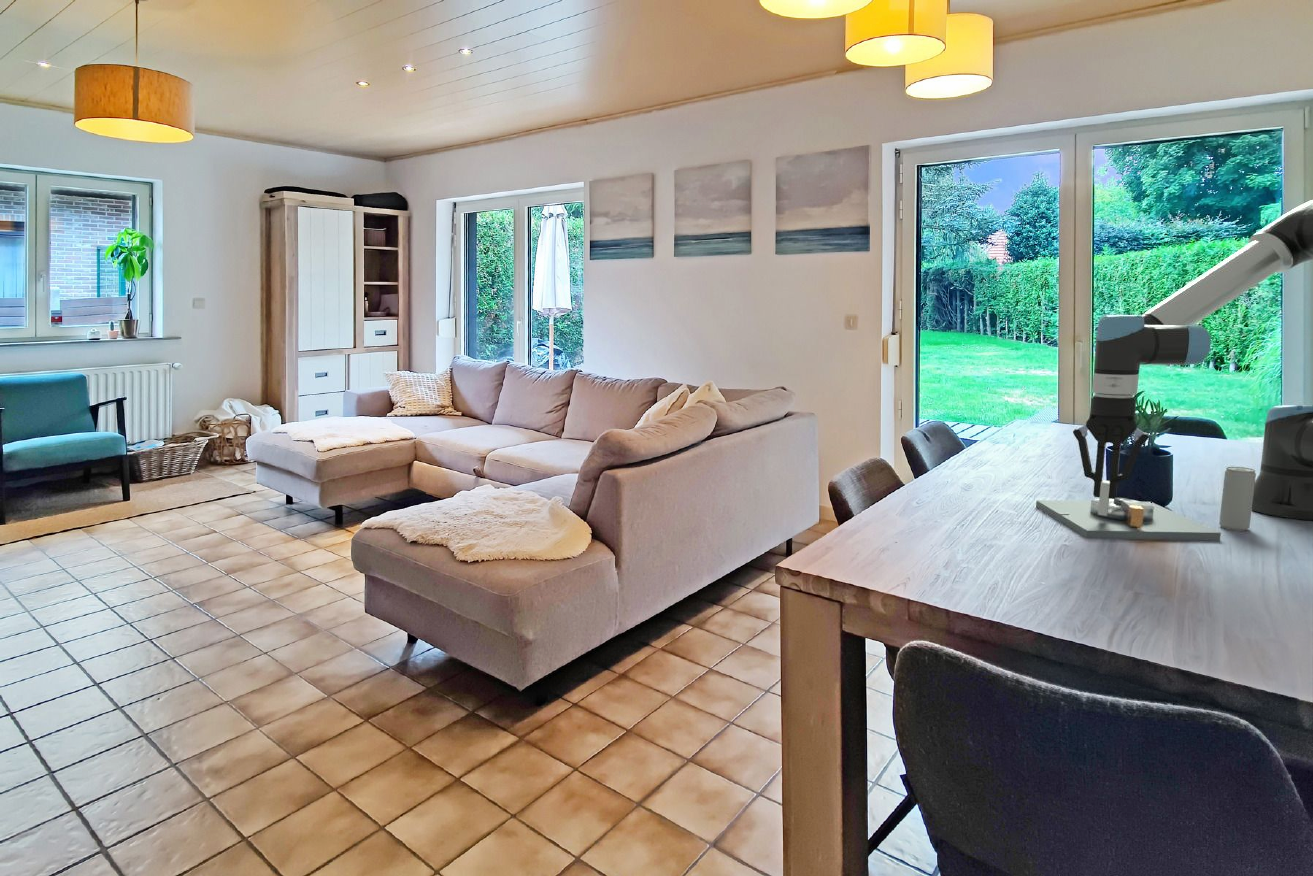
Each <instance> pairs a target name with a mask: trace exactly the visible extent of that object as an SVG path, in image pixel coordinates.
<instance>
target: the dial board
mask: <svg viewBox="0 0 1313 876" xmlns="http://www.w3.org/2000/svg"><path fill="white" fill-rule="evenodd" d="M1035 502H1036V503H1035V507H1036V508H1037V509H1038V510H1041V511H1042V512H1043V513H1045V514H1047V515H1048V516H1050V517H1052V518H1054V519H1055V520H1056V521H1058V522H1060V523H1061V524H1063V525H1065V526H1066V527H1068V528H1069V529H1071V530H1073V531H1074V532H1075V533H1077V534H1079V535H1080V536H1083V537H1084V538H1085V539H1108V540H1109V539H1110V540H1111V539H1113V540H1115V539H1117V540H1119V539H1121V540H1125V539H1126V540H1164V541H1165V540H1171V541H1172V540H1173V541H1178V540H1180V541H1221V534H1222V533H1221V532H1220V531H1217V530H1216V529H1213V528H1211V527H1208V526H1207V525H1204V524H1202V523H1199V522H1197V521H1195V520H1193V519H1191V518H1189V517H1186V516H1184V515H1181V514H1179V513H1177V512H1175V511H1172V510H1170V509H1169V508H1166V507H1163V506H1161V505H1159V504H1156V503H1154V502H1152V501H1143V502H1144V503H1147V504H1150V505H1152V506H1153V507H1154V513H1153V518H1152V519H1151V520H1146V521H1143V523H1142V527H1132V526H1129V525H1128V524H1127V523H1126V522H1125V521H1124V520H1117V519H1111V518H1106V517H1102V516H1098V515H1096V514H1093V513H1092V512H1091V511H1090V508H1091V500H1053V499H1052V500H1051V499H1050V500H1049V499H1047V500H1045V499H1044V500H1043V499H1042V500H1040V499H1038V500H1037V499H1036V501H1035ZM1151 502H1152V503H1151Z"/></svg>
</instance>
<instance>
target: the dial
mask: <svg viewBox="0 0 1313 876" xmlns="http://www.w3.org/2000/svg"><path fill="white" fill-rule="evenodd" d="M1099 498H1100V497H1096V498H1094V499H1093V498H1092V500H1090V501H1091V508H1090V511H1091V512H1092V513H1093V514H1096V515H1098V509H1099ZM1144 502H1145V501H1139V500H1135V499H1130V498H1126V497H1115V499H1109V505H1108V514H1107V516H1104V515H1098V516H1102V517H1106V518H1111V519H1117V520H1124V521H1125V522H1126V523H1127V524H1128V525H1129V526H1132V527H1142V523H1143V521H1146V520H1151V519H1152V518H1153V513H1154V507H1153V506H1152V505H1150V504H1147V503H1144Z"/></svg>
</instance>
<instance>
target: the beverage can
mask: <svg viewBox="0 0 1313 876" xmlns="http://www.w3.org/2000/svg"><path fill="white" fill-rule="evenodd" d="M1225 468H1226V470H1225V471H1224V478H1223V487H1222V496H1221V504H1220V505H1221V506H1220V513H1219V522H1218V524H1219V526H1220V527H1221V528H1223V529H1225V530H1228V531H1229V530H1230V531H1236V532H1237V531H1240V532H1241V531H1242V532H1243V531H1244V530H1245V531H1247V530H1249V529H1250V525H1251V519H1252V511H1253V510H1252V502H1253V494H1254V486H1255V481H1256V476H1257V474H1256V469H1254V468H1249V467H1244V466H1226V467H1225Z"/></svg>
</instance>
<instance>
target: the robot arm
mask: <svg viewBox="0 0 1313 876" xmlns="http://www.w3.org/2000/svg"><path fill="white" fill-rule="evenodd" d="M1312 260H1313V199H1312V200H1309V201H1307V202H1305V203H1303V204H1300V205H1299V206H1297V207H1295V208H1293V209H1292V210H1290V211H1288V212H1286V213H1285V214H1283V215H1281V216H1279V218H1277V219H1276V220H1274V221H1272V222H1270V223H1269V224H1267V226H1264V227H1263V228H1262V229H1261V230H1259V231H1257V232H1256V233H1254V234H1252V236H1250V238H1249V240H1248V244H1246V245H1245V246H1244V247H1242V248H1240V249H1239V250H1238V251H1236V252H1234V253H1233V254H1232V255H1230V256H1229V257H1227V258H1225V259H1224V260H1223V261H1221V262H1220V263H1218V264H1216V265H1215V266H1214V267H1212V268H1211V269H1209V270H1208V271H1205V272H1204V273H1203V274H1202V275H1200V276H1199V277H1196V278H1195V279H1194V280H1192V281H1191V282H1189V283H1188V284H1187V285H1185V286H1184V287H1182V288H1180V289H1178V290H1177V291H1176V292H1174V293H1173V294H1171V295H1170V296H1168V297H1167V298H1165V299H1164V300H1162V301H1160V302H1159V303H1157V304H1156V305H1155V306H1153V307H1152V308H1150V309H1148V310H1147V311H1146V312H1144V313H1142V314H1141V315H1137V314H1135V315H1134V314H1133V315H1132V314H1130V315H1127V314H1126V315H1125V314H1124V315H1123V314H1122V315H1119V314H1116V315H1114V314H1112V315H1111V314H1109V315H1107V314H1106V315H1103V316H1102V317H1100V319H1099V320H1098V325H1097V329H1096V336H1095V351H1094V364H1093V365H1094V368H1093V376H1092V385H1091V386H1092V387H1091V393H1092V394H1093V395H1092V397H1091V398H1090V407H1089V418H1088V419H1087V420H1086V422H1085V424H1084V425H1082V426H1080V427H1076V428H1074V429H1073V431H1072V433H1073V436H1074V437H1075V438H1076V441H1077V442H1078V448H1079V453H1080V457H1081V458H1080V459H1081V464H1082V469H1083V475H1084V477H1086V478H1089V479H1091V480H1093V483H1094V484H1093V496H1094V498H1099V509H1098V515H1104V516H1107V514H1108V505H1109V499H1115V498H1117V497H1116V496H1117V490H1118V489H1117V488H1118V484H1119V483H1120V482H1127V481H1128V480H1129V477H1130V475H1131V473H1132V469H1133V467H1134V465H1135V463H1136V460H1137V457H1138V456H1139V452H1140V451H1141V447H1142V446H1143V444H1145V443H1146V442H1147V440H1148V439H1149V436H1150V435H1149V433H1148V432H1144V431H1142V430H1141V429H1139V428H1138V424H1137V422H1136V419H1135V416H1136V407H1137V399H1136V397H1134V396H1136V395H1137V394H1138V385H1139V377H1140V367H1141V366H1147V365H1153V366H1154V365H1157V366H1158V365H1160V366H1164V365H1165V366H1166V365H1170V366H1177V365H1178V366H1183V367H1184V366H1187V365H1198V364H1200V363H1202V362H1204V361H1205V360H1206V359H1207V357H1208V356H1209V353H1210V352H1211V345H1212V337H1211V335H1210V333H1209V331H1208V330H1207V328H1205V327H1204V326H1202V325H1196V324H1197V323H1199V322H1201V321H1202V320H1204V319H1206V318H1207V317H1208V316H1210V315H1212V314H1214V312H1216V311H1218V310H1219V309H1221V308H1222V307H1224V306H1225V305H1227V304H1229V303H1230V302H1232V301H1233V300H1235V299H1237V298H1238V297H1240V296H1241V295H1243V294H1244V293H1245V292H1247V291H1249V290H1250V289H1252V288H1253V287H1255V286H1256V285H1258V284H1260V283H1261V282H1263V281H1264V280H1266V279H1267V278H1269V277H1271V275H1273V274H1277V273H1279V274H1283V273H1285V272H1286V273H1287V272H1288V271H1289V270H1290V269H1292V268H1293V267H1295V266H1298V265H1299V264H1302V263H1305V262H1308V261H1312ZM1265 419H1266V420H1265V422H1264V434H1263V435H1264V436H1263V443H1262V453H1261V454H1262V455H1261V462H1260V470H1259V473H1258V476H1257V478H1255V486H1254V494H1253V502H1252V510H1251V511H1255V512H1257V513H1261V514H1264V515H1270V516H1276V517H1281V518H1287V519H1288V518H1289V519H1296V520H1308V521H1309V520H1310V521H1311V520H1313V404H1312V405H1311V404H1308V405H1307V404H1305V405H1303V404H1302V405H1300V404H1299V405H1296V404H1295V405H1291V404H1290V405H1274V406H1272V407H1271V408H1269V409H1268V411H1267V416H1266V418H1265ZM1088 431H1089V433H1090V434H1091V436H1092V437H1093V438H1094V440H1095V441H1096V442H1097V448H1096V456H1095V457H1096V460H1095V470H1094V471H1093V469H1092V467H1093V466H1092V463H1091V456H1090V451H1089V446H1088V445H1089V444H1088V442H1087V441H1088V440H1087V436H1088ZM1133 434H1134V435H1133ZM1131 435H1133V440H1134V443H1133V445H1132V448H1131V451H1130V453H1129V455H1128V459H1127V460H1126V463H1125V466H1124V469H1123V470H1122V473H1120V474H1119V470H1120V469H1119V468H1120V458H1121V448H1122V444H1123V443H1124V442H1125V441H1126V440H1127V439H1128V438H1129V437H1130V436H1131ZM1107 443H1110V444H1112V451H1111V452H1112V453H1111V462H1110V472H1109V473H1110V474H1109V480H1106V479H1105V480H1103V475H1104V467H1105V466H1104V465H1105V457H1106V446H1107Z"/></svg>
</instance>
